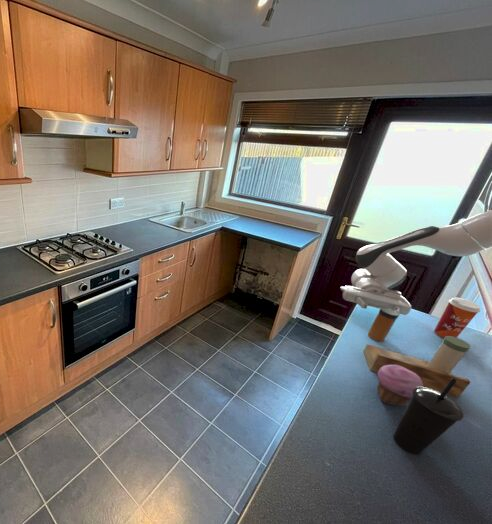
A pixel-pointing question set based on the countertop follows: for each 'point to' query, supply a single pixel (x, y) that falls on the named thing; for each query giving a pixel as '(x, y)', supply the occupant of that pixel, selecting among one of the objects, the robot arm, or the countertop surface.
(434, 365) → the sage jar
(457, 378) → the spice rack
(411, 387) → the cupcake
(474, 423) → the countertop surface
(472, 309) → the paper cup
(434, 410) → the drinking cup
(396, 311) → the robot arm
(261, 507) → the countertop surface
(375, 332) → the amber jar
